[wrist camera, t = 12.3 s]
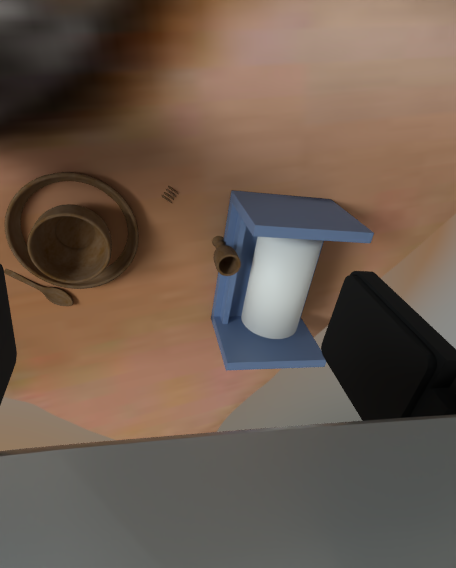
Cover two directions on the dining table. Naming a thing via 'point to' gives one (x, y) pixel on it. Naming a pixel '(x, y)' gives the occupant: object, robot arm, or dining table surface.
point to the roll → (279, 285)
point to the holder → (232, 289)
